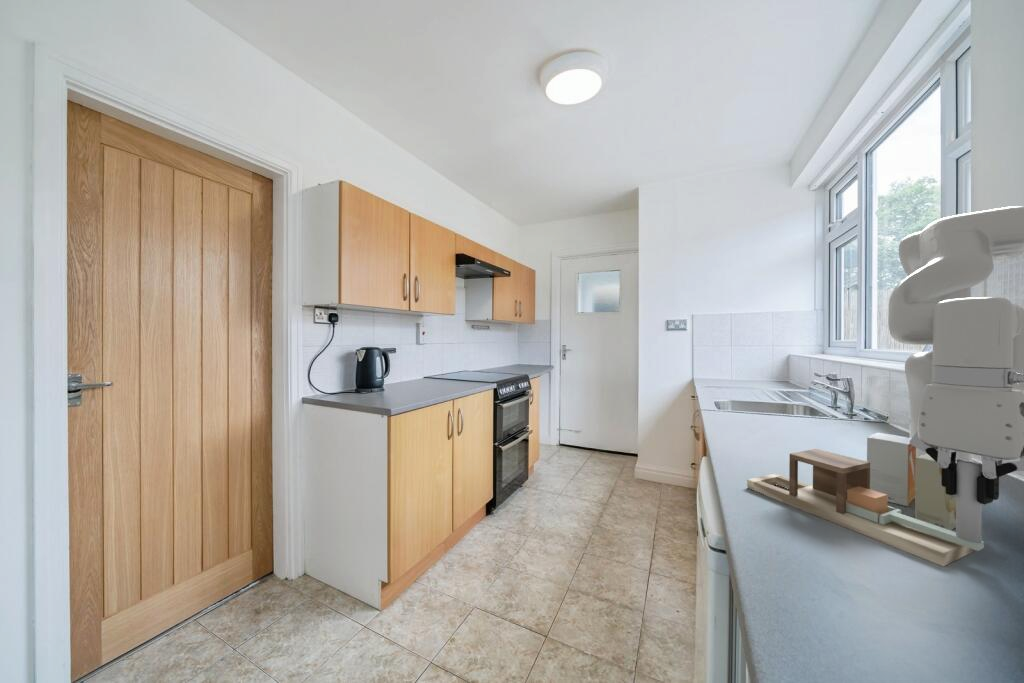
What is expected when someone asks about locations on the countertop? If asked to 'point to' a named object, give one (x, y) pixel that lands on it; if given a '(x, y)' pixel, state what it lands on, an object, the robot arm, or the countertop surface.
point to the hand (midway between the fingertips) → (968, 496)
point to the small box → (892, 467)
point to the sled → (965, 511)
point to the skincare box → (933, 495)
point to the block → (867, 499)
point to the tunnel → (830, 474)
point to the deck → (861, 521)
